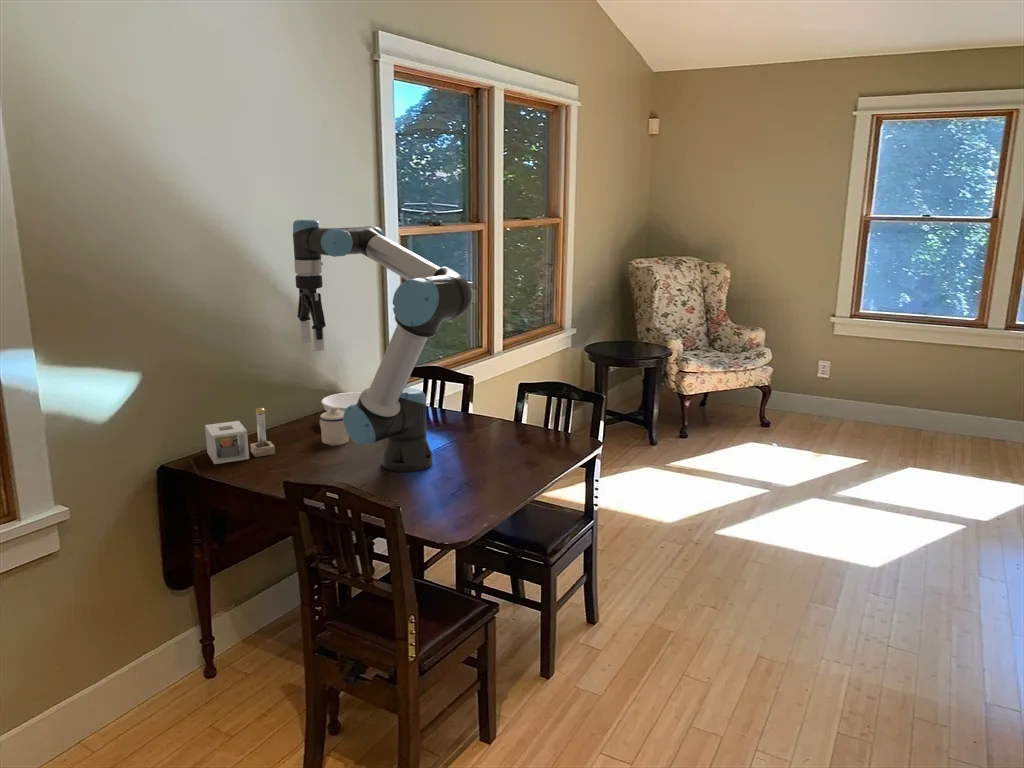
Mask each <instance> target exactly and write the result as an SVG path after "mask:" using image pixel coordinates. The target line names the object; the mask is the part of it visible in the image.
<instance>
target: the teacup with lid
mask: <svg viewBox="0 0 1024 768" xmlns="http://www.w3.org/2000/svg"><path fill="white" fill-rule="evenodd" d="M343 415H344V412H343V411H340V410H337V407H331V410H329V411H325V412H323V413H321V414H320V416H319V426H320V431H321V442H322V443H323V444H327V445H328V446H334V447H335V446H342V445H345V444H347V443H349V441H350V437H349V435H348V434H347V432H346V429H345V426H344V422H343Z"/></svg>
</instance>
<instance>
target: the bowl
mask: <svg viewBox="0 0 1024 768" xmlns="http://www.w3.org/2000/svg"><path fill="white" fill-rule="evenodd" d="M362 392H363V391H359V392H358V391H357V392H354V391H353V392H341V393H335V394H331V395H328V396H325V397H323V398H322V400H321V404H322V407H323V409H324V410H325V412H327V411H329V410H331V407H337V410H340V411H343V412H344V411H345V410H346V408H347V407H349V406H350V405H355V404H357V402H358V400H359V397H360V395H361V393H362Z"/></svg>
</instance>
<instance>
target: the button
mask: <svg viewBox="0 0 1024 768" xmlns="http://www.w3.org/2000/svg"><path fill="white" fill-rule="evenodd" d="M232 441H233V438H230V437H228V438H223V439H221V443H222V448H224V447H231V446H232Z"/></svg>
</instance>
